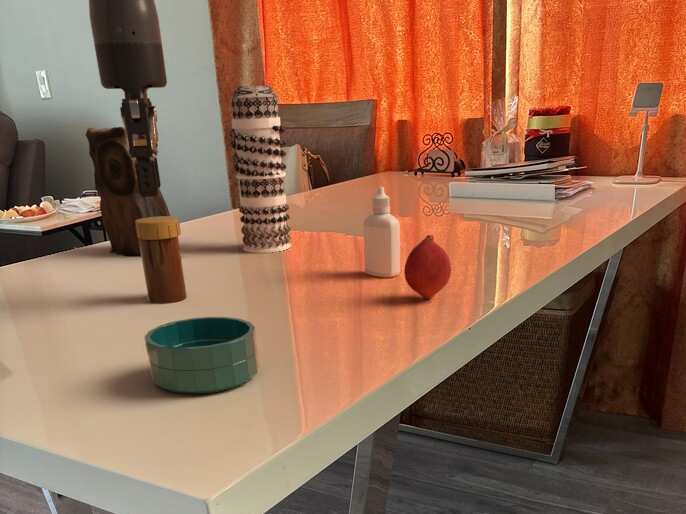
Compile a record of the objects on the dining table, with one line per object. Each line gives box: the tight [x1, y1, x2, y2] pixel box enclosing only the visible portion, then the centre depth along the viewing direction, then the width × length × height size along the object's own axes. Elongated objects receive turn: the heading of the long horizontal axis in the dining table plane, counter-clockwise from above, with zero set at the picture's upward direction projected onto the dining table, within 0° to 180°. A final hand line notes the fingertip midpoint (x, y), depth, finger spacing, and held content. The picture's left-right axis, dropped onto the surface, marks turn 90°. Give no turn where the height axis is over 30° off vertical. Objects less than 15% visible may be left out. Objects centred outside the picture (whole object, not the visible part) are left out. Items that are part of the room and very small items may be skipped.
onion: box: [403, 233, 452, 300], centre depth 89 cm, size 6×6×8 cm
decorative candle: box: [228, 85, 292, 254], centre depth 120 cm, size 9×9×25 cm
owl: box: [85, 126, 171, 257], centre depth 123 cm, size 13×13×20 cm
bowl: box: [144, 316, 260, 395], centre depth 67 cm, size 10×10×4 cm
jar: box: [138, 236, 188, 304], centre depth 94 cm, size 5×5×10 cm
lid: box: [135, 215, 182, 240], centre depth 92 cm, size 5×5×2 cm
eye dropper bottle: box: [363, 185, 401, 279], centre depth 102 cm, size 4×6×12 cm
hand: (151, 192), depth 90 cm, fingers open, 8 cm apart
